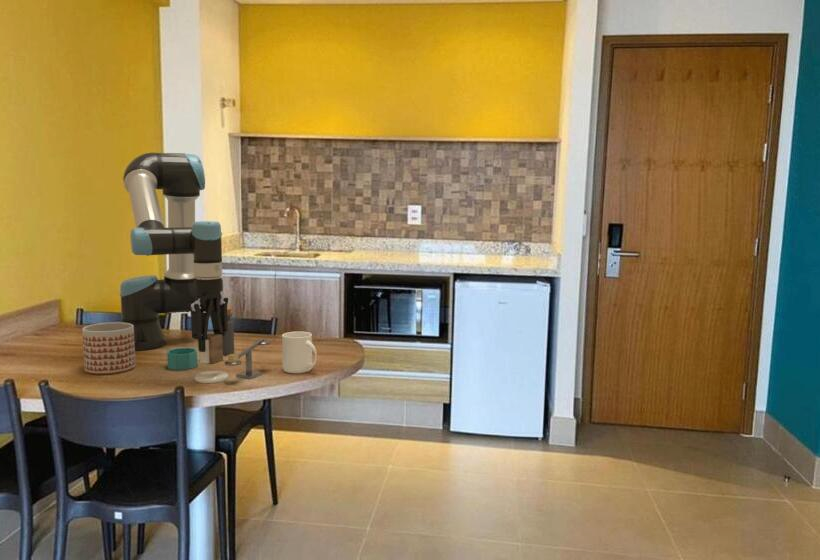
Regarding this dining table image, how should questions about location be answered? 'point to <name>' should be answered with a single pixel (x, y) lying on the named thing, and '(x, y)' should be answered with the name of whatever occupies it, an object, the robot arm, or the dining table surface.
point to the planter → (108, 348)
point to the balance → (234, 360)
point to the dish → (211, 377)
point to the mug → (297, 352)
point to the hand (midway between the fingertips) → (211, 360)
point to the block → (215, 348)
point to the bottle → (228, 335)
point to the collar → (182, 358)
